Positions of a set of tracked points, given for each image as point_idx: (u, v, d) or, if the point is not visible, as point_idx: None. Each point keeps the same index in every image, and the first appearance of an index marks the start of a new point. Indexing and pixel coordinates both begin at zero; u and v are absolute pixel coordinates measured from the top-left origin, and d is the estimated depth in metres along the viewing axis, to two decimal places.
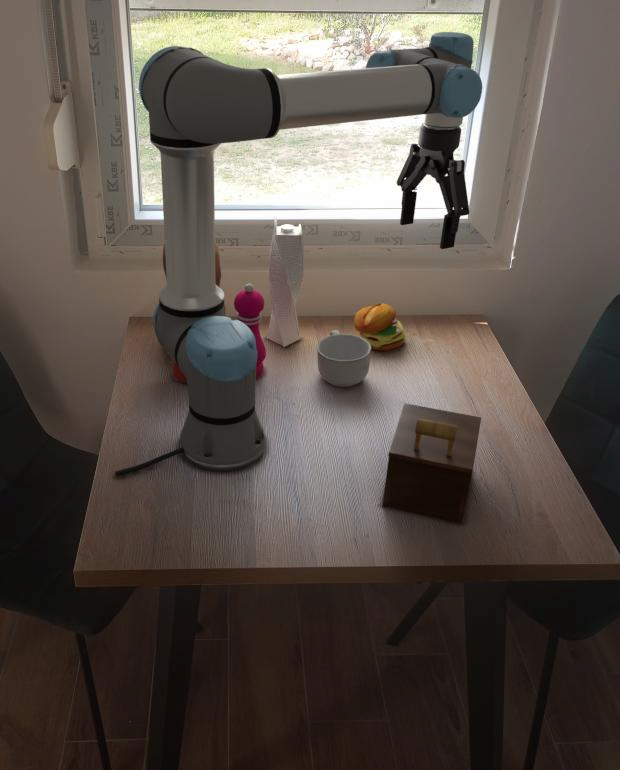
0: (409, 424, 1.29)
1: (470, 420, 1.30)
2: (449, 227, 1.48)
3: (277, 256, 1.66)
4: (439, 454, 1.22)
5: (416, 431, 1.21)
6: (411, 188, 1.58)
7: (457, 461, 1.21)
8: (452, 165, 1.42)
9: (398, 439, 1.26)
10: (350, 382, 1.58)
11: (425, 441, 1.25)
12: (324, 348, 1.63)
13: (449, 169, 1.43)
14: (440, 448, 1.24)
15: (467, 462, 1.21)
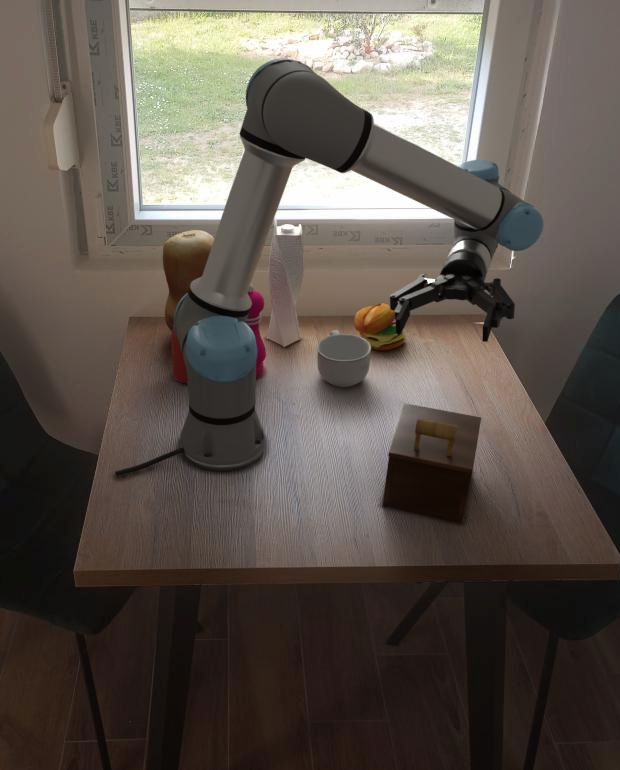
0: (409, 424, 1.29)
1: (470, 420, 1.30)
2: (494, 316, 1.25)
3: (277, 256, 1.66)
4: (439, 454, 1.22)
5: (416, 431, 1.21)
6: None
7: (457, 461, 1.21)
8: (498, 279, 1.33)
9: (398, 439, 1.26)
10: (350, 382, 1.58)
11: (425, 441, 1.25)
12: (324, 348, 1.63)
13: (493, 282, 1.33)
14: (440, 448, 1.24)
15: (467, 462, 1.21)
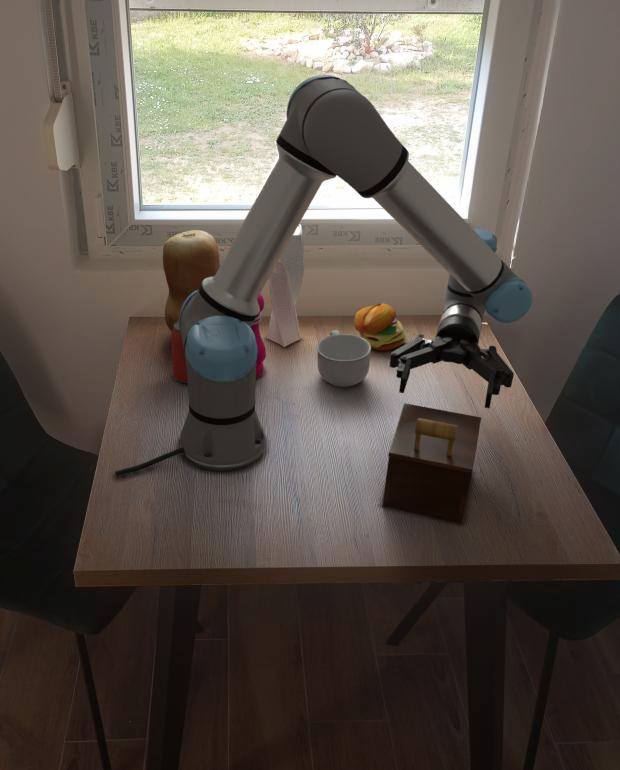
0: (409, 424, 1.29)
1: (470, 420, 1.30)
2: (495, 384, 1.28)
3: None
4: (439, 454, 1.22)
5: (416, 431, 1.21)
6: None
7: (457, 461, 1.21)
8: (494, 347, 1.37)
9: (398, 439, 1.26)
10: (350, 382, 1.58)
11: (425, 441, 1.25)
12: (324, 348, 1.63)
13: (489, 349, 1.36)
14: (440, 448, 1.24)
15: (467, 462, 1.21)
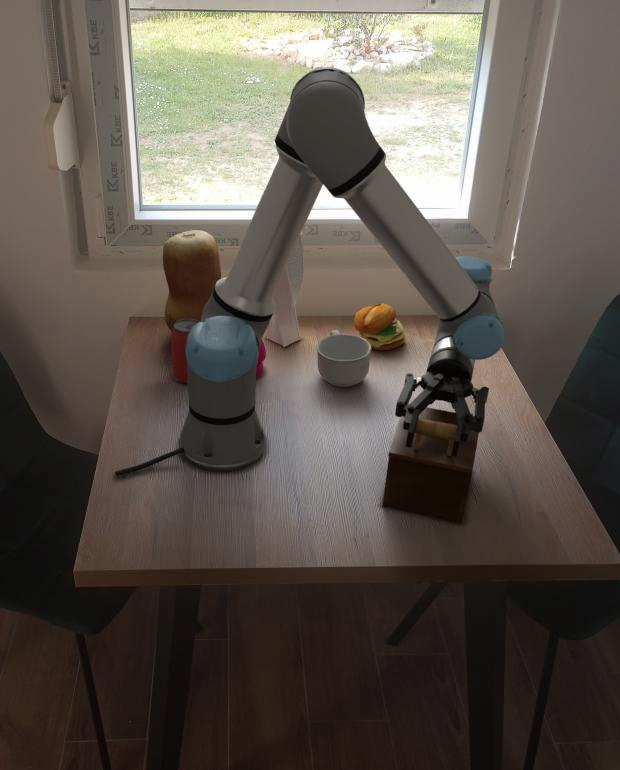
0: None
1: None
2: (464, 429, 1.18)
3: None
4: (439, 454, 1.22)
5: (416, 431, 1.21)
6: None
7: (457, 461, 1.21)
8: (486, 389, 1.27)
9: (398, 439, 1.26)
10: (350, 382, 1.58)
11: (425, 441, 1.25)
12: (324, 348, 1.63)
13: (479, 389, 1.27)
14: (440, 448, 1.24)
15: (467, 462, 1.21)
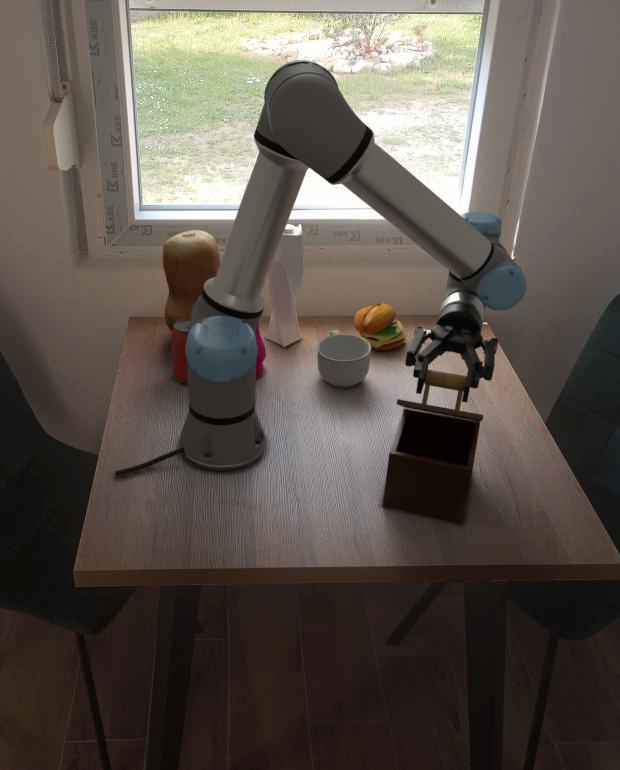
0: None
1: None
2: (474, 376, 1.19)
3: (277, 256, 1.66)
4: None
5: (426, 378, 1.21)
6: None
7: None
8: (495, 340, 1.28)
9: None
10: (350, 382, 1.58)
11: None
12: (324, 348, 1.63)
13: (489, 340, 1.28)
14: None
15: None
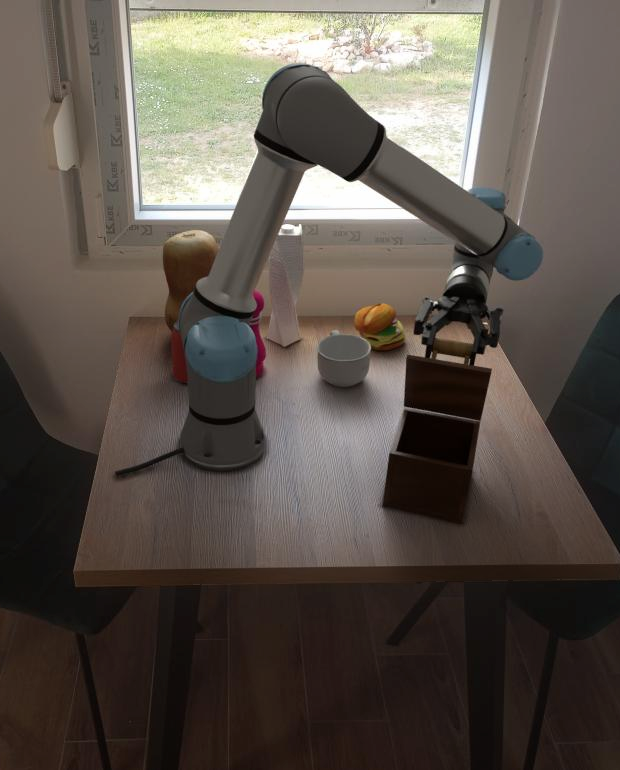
0: None
1: None
2: (480, 343, 1.23)
3: (277, 256, 1.66)
4: None
5: (434, 342, 1.25)
6: None
7: None
8: (500, 310, 1.32)
9: None
10: (350, 382, 1.58)
11: None
12: (324, 348, 1.63)
13: None
14: None
15: None
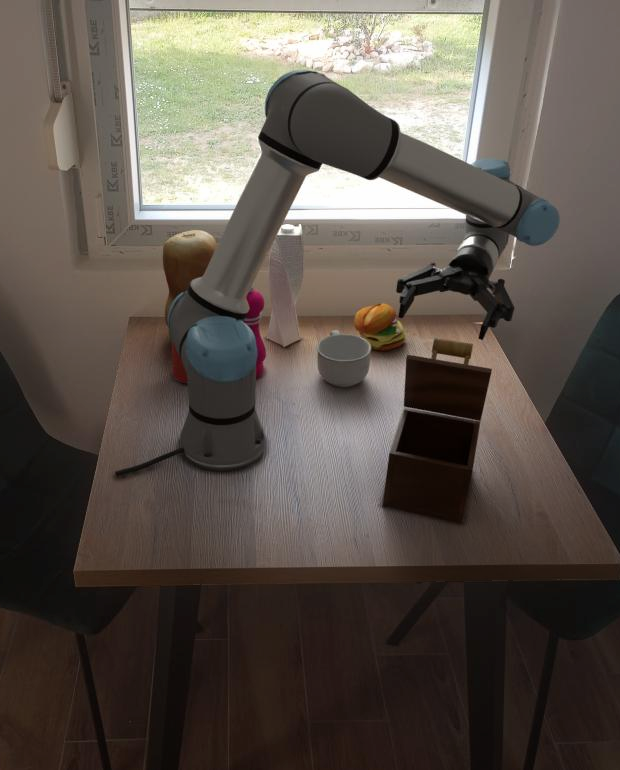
0: None
1: None
2: (493, 317, 1.30)
3: (277, 256, 1.66)
4: None
5: (434, 342, 1.25)
6: None
7: None
8: (502, 280, 1.39)
9: None
10: (350, 382, 1.58)
11: None
12: (324, 348, 1.63)
13: (497, 282, 1.38)
14: None
15: None
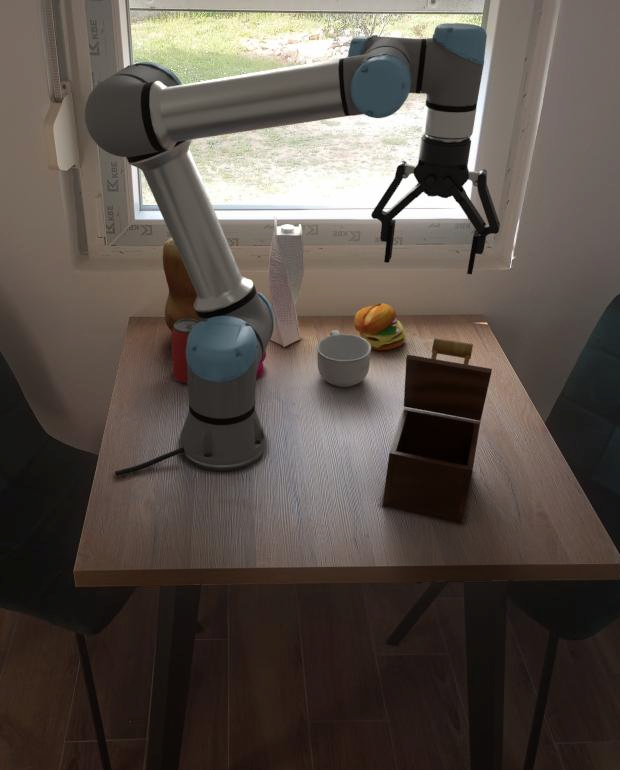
0: None
1: None
2: (478, 248, 1.27)
3: (277, 256, 1.66)
4: None
5: (434, 342, 1.25)
6: None
7: None
8: (483, 178, 1.21)
9: None
10: (350, 382, 1.58)
11: None
12: (324, 348, 1.63)
13: (477, 183, 1.21)
14: None
15: None
